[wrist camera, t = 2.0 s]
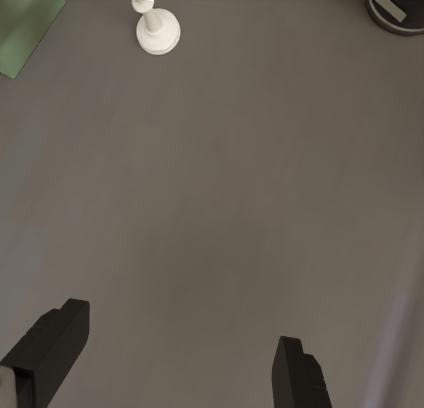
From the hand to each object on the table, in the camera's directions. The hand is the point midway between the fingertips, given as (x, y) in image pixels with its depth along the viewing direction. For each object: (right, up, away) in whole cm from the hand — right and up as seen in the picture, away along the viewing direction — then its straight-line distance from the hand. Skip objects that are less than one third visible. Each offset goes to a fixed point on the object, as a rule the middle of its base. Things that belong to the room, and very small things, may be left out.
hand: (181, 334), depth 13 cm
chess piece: (-5, +25, +23) cm, 34 cm away
